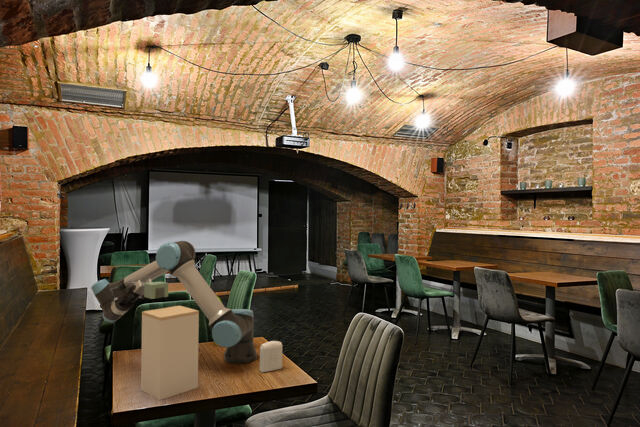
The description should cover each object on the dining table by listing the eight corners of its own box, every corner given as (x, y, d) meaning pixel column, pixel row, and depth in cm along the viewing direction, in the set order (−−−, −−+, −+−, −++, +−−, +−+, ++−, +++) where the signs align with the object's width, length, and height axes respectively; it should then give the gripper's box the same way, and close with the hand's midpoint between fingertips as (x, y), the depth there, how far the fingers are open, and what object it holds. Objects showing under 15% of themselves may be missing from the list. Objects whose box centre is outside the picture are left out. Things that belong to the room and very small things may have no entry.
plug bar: (168, 296, 180) (168, 283, 180) (151, 298, 175) (151, 285, 175) (141, 289, 195) (142, 277, 195) (126, 291, 190) (126, 279, 190)
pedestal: (197, 387, 173) (198, 310, 173) (159, 400, 162) (160, 317, 162) (178, 378, 183) (179, 305, 183) (141, 389, 171) (142, 311, 171)
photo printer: (279, 366, 199) (279, 338, 199) (283, 369, 195) (283, 340, 195) (258, 370, 193) (258, 342, 193) (262, 373, 190) (262, 344, 190)
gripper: (143, 308, 204) (166, 288, 191) (105, 314, 192) (127, 293, 178) (139, 293, 207) (162, 272, 193) (101, 298, 194) (123, 276, 181)
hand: (145, 282), depth 186 cm, fingers closed on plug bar, 4 cm apart
